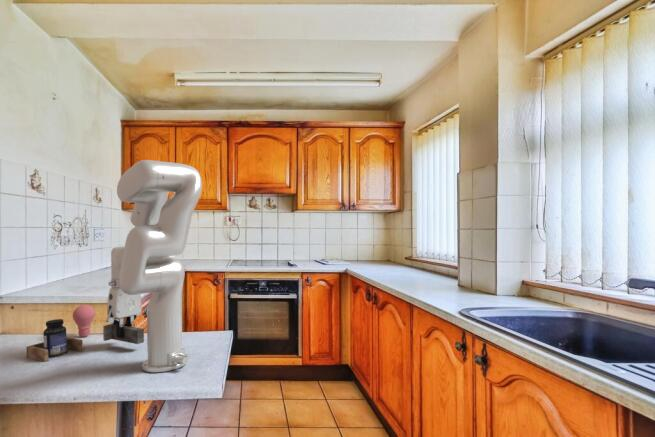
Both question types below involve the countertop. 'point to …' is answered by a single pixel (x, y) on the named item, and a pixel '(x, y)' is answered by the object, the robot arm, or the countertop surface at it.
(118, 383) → the countertop surface
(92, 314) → the light bulb
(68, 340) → the bay
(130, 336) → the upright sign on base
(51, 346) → the pill bottle
